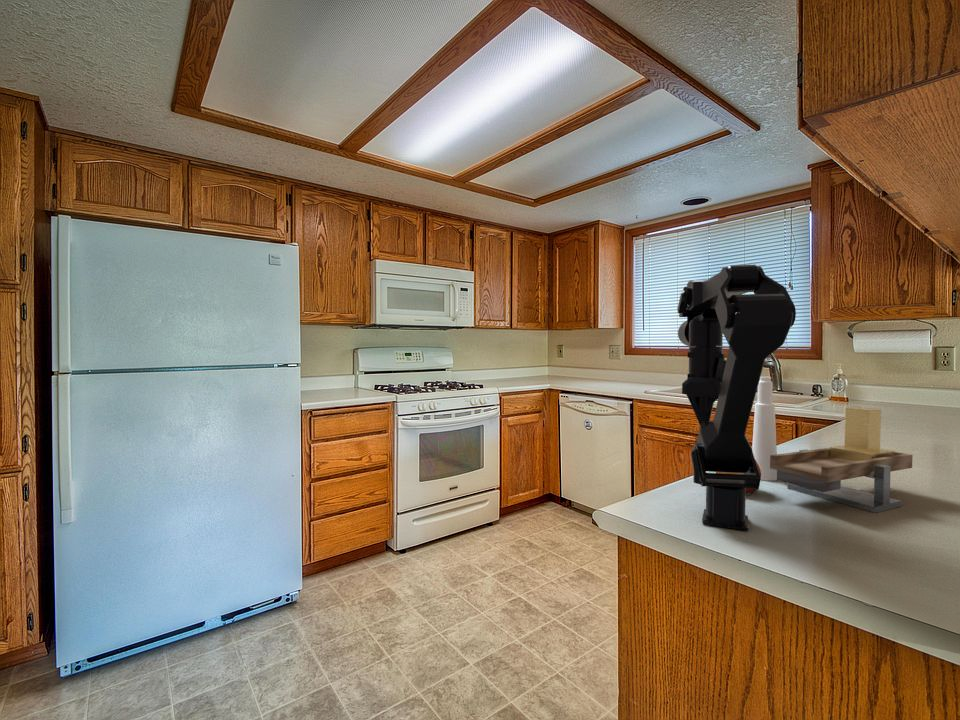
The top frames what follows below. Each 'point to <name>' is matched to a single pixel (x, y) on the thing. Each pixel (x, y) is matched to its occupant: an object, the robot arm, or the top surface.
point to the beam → (829, 468)
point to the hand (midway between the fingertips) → (704, 429)
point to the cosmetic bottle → (765, 429)
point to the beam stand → (861, 493)
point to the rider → (861, 436)
